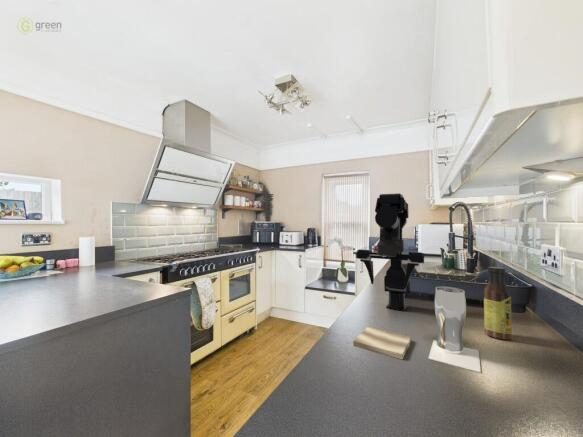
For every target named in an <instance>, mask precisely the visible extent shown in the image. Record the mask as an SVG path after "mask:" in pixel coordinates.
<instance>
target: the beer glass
mask: <svg viewBox="0 0 583 437" xmlns="http://www.w3.org/2000/svg"><path fill="white" fill-rule="evenodd" d="M466 301H467V300H466V291H465V290H464V289H460V288H458V287H451V286H436V287H435V291H434V313H435V319H436V323H437V331H438V332H437V340H436V341H437V347H438V348H439V349H441V350H443V351H445V352H449V353H453V354H462V353H464V347H465V346H464V342H463V341H464V340H463V334H464V333H463V332H464V327H465V322H466V316H467V302H466Z"/></svg>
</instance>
